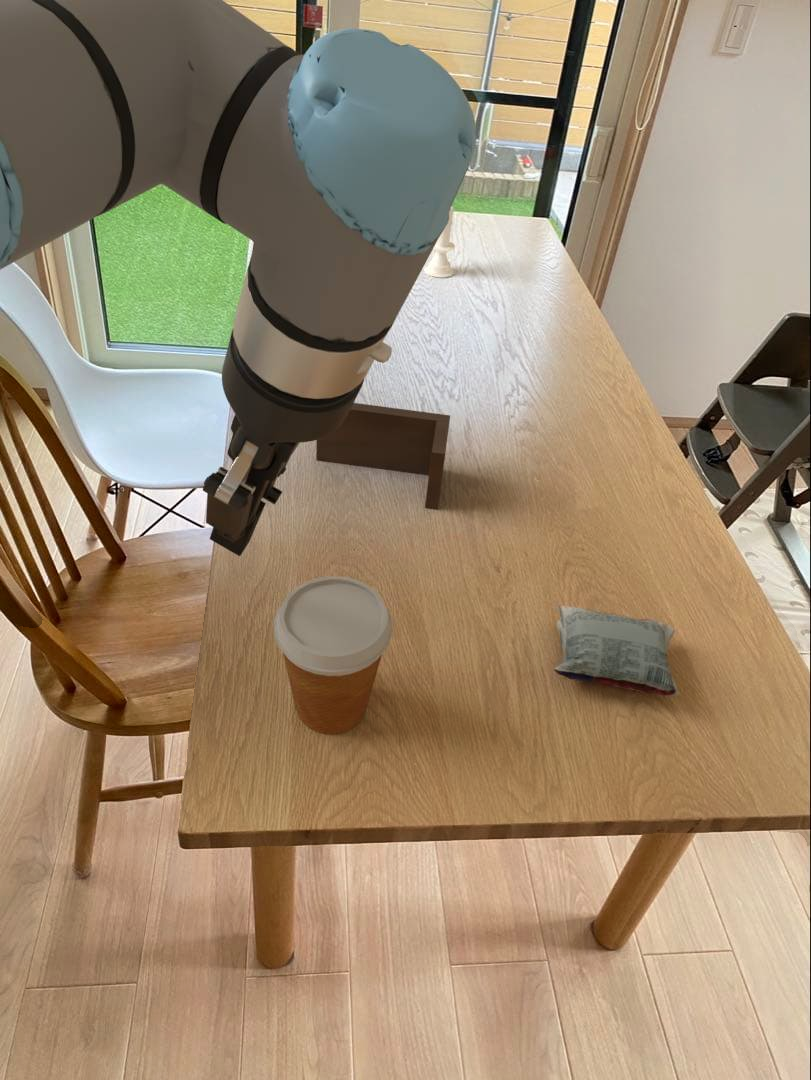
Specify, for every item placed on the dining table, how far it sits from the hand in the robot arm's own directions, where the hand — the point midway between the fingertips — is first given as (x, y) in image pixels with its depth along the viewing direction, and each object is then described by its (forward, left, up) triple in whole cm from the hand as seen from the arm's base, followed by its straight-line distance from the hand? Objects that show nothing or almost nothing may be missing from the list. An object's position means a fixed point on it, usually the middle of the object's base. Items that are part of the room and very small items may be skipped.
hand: (229, 540), depth 62 cm
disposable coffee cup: (+6, -7, -16) cm, 19 cm away
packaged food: (+33, -11, -16) cm, 39 cm away
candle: (+55, +75, -16) cm, 94 cm away
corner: (+22, +22, -16) cm, 35 cm away
